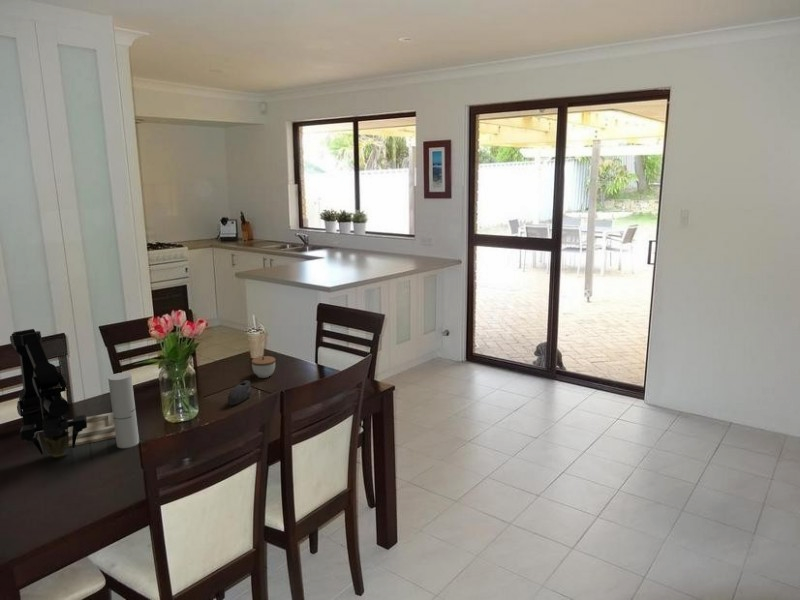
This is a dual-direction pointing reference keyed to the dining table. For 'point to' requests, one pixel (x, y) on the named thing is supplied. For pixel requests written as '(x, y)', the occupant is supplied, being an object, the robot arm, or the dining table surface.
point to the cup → (57, 444)
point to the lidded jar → (263, 366)
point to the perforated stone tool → (239, 393)
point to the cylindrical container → (123, 410)
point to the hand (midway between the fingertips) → (58, 450)
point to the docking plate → (96, 437)
